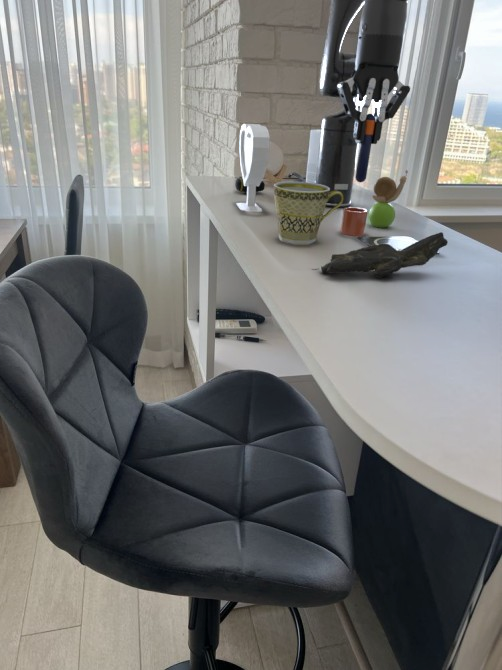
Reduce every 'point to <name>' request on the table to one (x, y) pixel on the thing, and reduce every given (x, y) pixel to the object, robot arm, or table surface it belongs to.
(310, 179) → the cosmetic box
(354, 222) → the pen pot
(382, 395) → the table surface
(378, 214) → the snail figurine
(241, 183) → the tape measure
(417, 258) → the dark brown elongated chunk
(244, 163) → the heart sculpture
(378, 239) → the shiny silver plate
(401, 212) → the table surface
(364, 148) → the marker
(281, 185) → the ceramic cup
